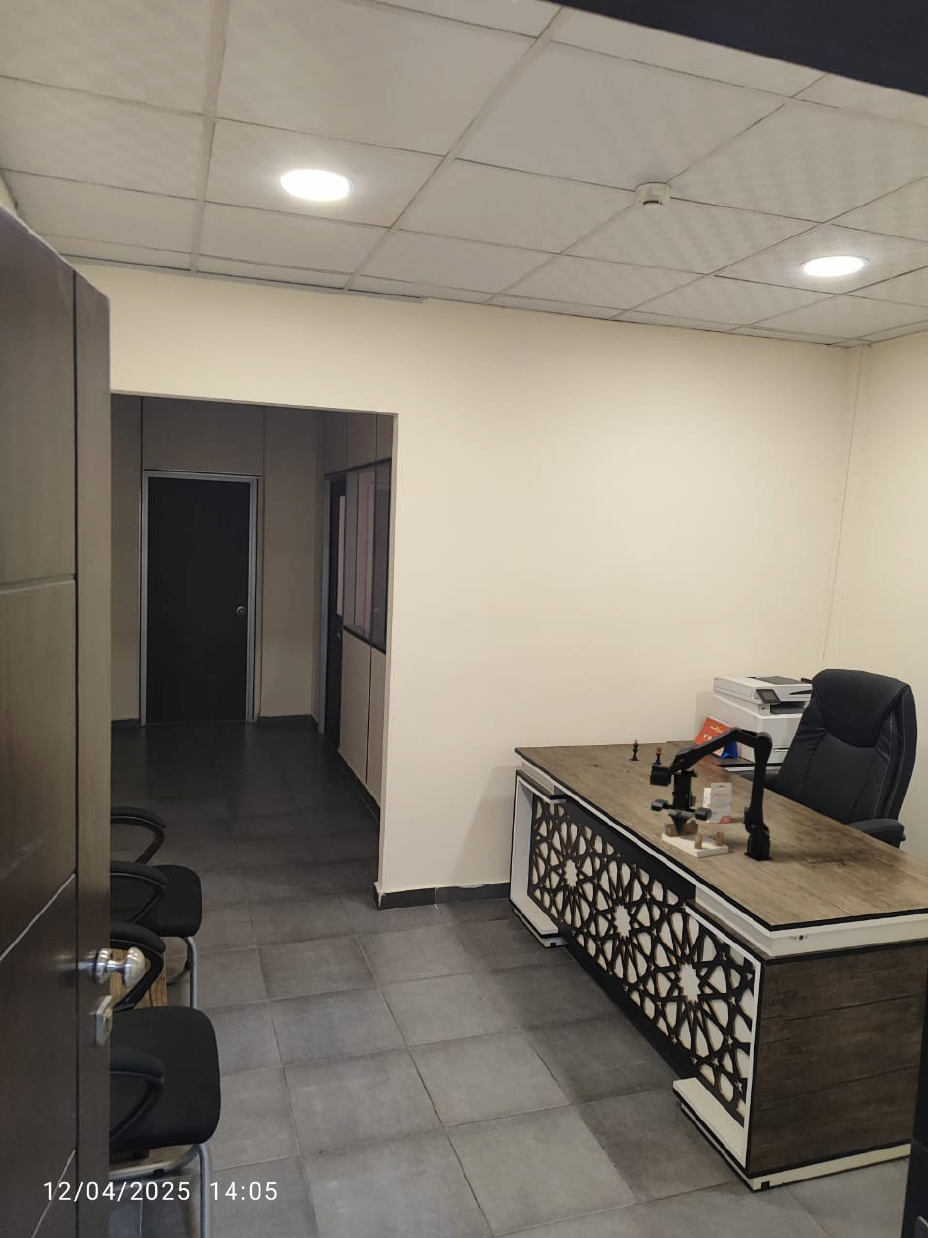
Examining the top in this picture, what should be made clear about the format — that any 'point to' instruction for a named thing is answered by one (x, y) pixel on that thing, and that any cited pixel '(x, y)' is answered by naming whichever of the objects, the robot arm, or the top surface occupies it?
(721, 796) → the ink cartridge box
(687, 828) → the hinged leg
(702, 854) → the white peg board
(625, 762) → the top surface
